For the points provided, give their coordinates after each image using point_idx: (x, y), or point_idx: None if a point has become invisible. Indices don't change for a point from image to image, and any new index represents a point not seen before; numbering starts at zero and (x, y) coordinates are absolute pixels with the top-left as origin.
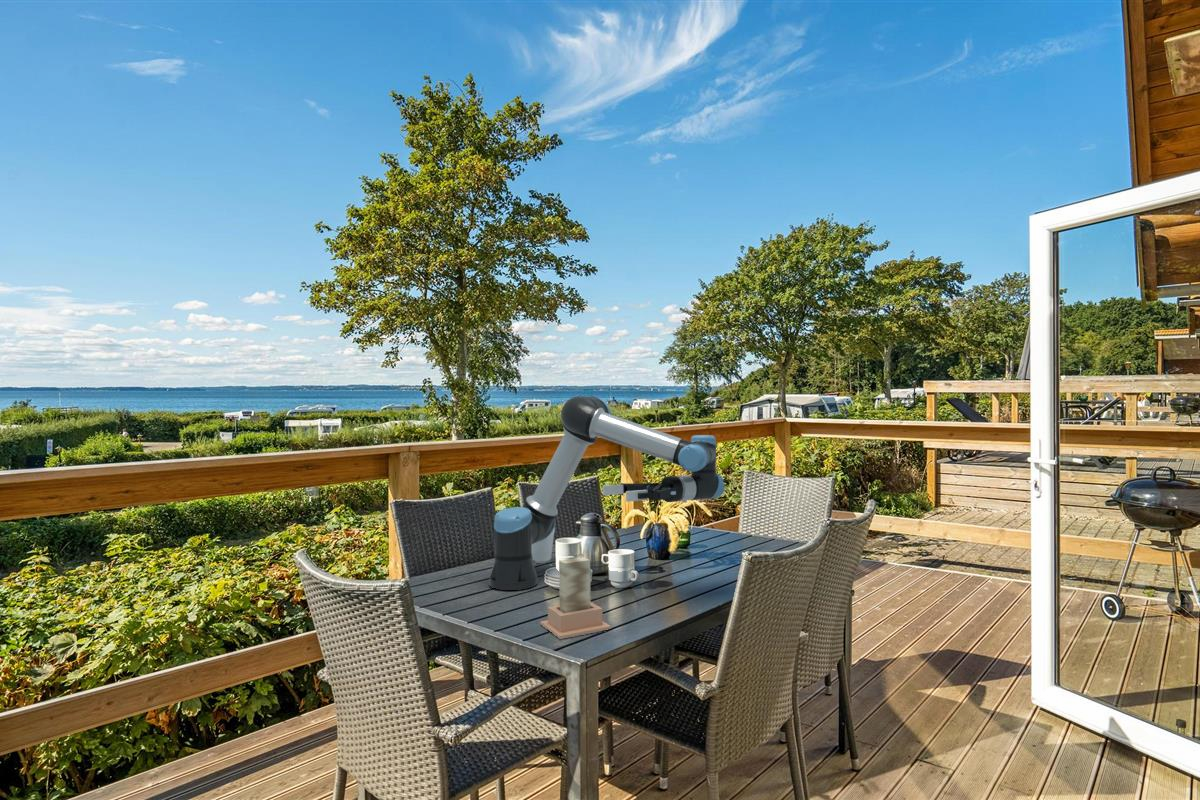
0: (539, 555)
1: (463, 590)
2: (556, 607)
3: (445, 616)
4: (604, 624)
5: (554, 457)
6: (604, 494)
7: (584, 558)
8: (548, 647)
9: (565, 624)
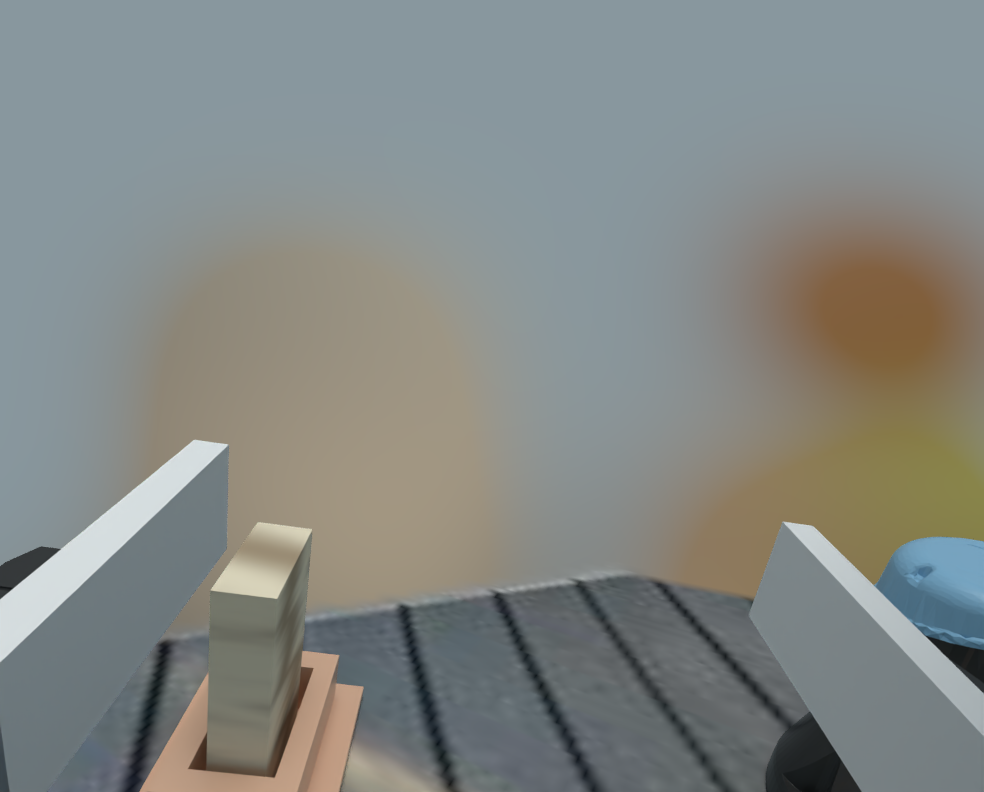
0: None
1: None
2: (314, 671)
3: (562, 579)
4: None
5: None
6: (752, 612)
7: (254, 589)
8: (197, 638)
9: None
